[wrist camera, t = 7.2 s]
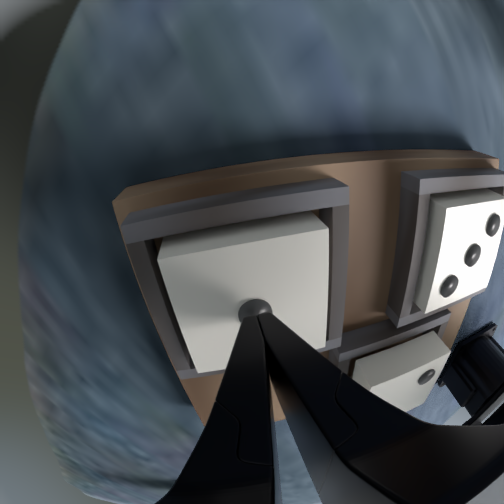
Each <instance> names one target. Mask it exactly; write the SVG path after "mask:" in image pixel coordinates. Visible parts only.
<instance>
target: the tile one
mask: <svg viewBox="0 0 504 504" xmlns="http://www.w3.org/2000/svg"><path fill="white" fill-rule="evenodd" d="M157 261H158V264H159V267H160V271H161V274H162V277H163V280H164V283H165V286H166V289H167V292H168V295H169V298H170V301H171V304H172V307H173V310H174V312H175V315H176V318H177V321H178V324H179V326H180V329H181V332H182V334H183V337H184V340H185V342H186V345H187V348H188V350H189V353H190V355H191V358H192V360H193V363H194V365H195V368H196V370H197V372H198V373H204V372H210V371H217V370H223V369H226V366H227V363H228V360H229V357H230V354H231V351H232V348H233V346H234V343H235V340H236V337H237V334H238V331H239V328H240V325H241V322H242V319H243V317H246V316H251V315H256V316H257V315H258V314H261V313H266V312H271V313H272V314H273V315H275V316H276V317H277V318H278V319H279V320H281V321H282V322H283V323H284V324H285V325H287V326H288V327H289V328H290V329H291V330H293V331H294V332H295V333H296V334H297V335H299V336H300V337H301V338H302V339H303V340H305V341H306V342H307V343H308V344H310V345H311V346H312V347H313V348H314V349H319V348H323V347H325V344H326V328H327V308H328V277H329V228H328V227H327V226H326V225H325V224H324V223H323V222H322V221H321V220H320V219H319V218H318V217H317V216H316V215H315V214H313V213H312V212H311V211H310V210H309V211H303V212H297V213H290V214H284V215H278V216H272V217H266V218H260V219H255V220H249V221H243V222H238V223H232V224H227V225H221V226H216V227H210V228H205V229H200V230H194V231H189V232H184V233H179V234H174V235H169V236H164V237H163V240H162V244H161V247H160V251H159V255H158V259H157Z"/></svg>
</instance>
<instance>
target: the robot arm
mask: <svg viewBox="0 0 504 504" xmlns="http://www.w3.org/2000/svg"><path fill="white" fill-rule="evenodd" d="M496 328H497V325H496V324H495V323H493V324H492V325H490V326H489V327H487V328H485V329H484V330H482V331H480V332H479V333H477V334H475V335H473V336H472V337H470V338H468V339H466V340H465V341H463V342H461V343H459V344H458V346H457V347H456V349H455V351H454V353H453V355H452V357H451V359H450V361H449V363H448V365H447V367H446V369H445V371H444V373H443V375H442V377H441V379H440V381H439V382H438V386H439V387H442V386H444V385H446V386H447V387H448V389H449V390H450V392H451V393H452V394H453V396H454V397H455V399H456V400H457V402H458V403H459V405H460V406H461V407H464V406H465V408H466V409H467V411H468V412H469V414H470V415H471V418H470V419H469V420H468V421H466V422H465V423H464V424H462V426H450V425H436V424H431V423H427V422H424V421H422V420H419V419H417V418H415V417H413V416H412V415H410V414H408V413H406V412H404V411H403V410H401V409H399V408H397V407H395V406H394V405H392V404H390V403H388V402H387V401H385V400H383V399H381V398H380V397H378V396H377V395H375V394H373V393H372V392H370V391H369V390H367V389H365V388H364V387H363V386H361V385H360V384H359V383H357V382H356V381H355V380H353V379H352V378H351V377H349V376H348V375H347V374H346V373H344V372H342V370H340V369H339V368H338V367H337V366H335V365H334V364H333V363H332V362H330V361H329V360H328V359H327V358H326V357H324V356H323V355H322V354H321V353H319V352H318V351H317V350H316V349H314V348H313V347H312V346H311V345H310V344H308V343H307V342H306V341H305V340H303V339H302V338H301V337H300V336H299V335H297V334H296V333H295V332H294V331H293V330H291V329H290V328H289V327H288V326H287V325H285V324H284V323H283V322H282V321H281V320H279V319H278V318H277V317H276V316H275V315H273V314H272V313H271V312H266V313H261V314H258V315H257V316H256V315H251V316H246V317H243V319H242V322H241V325H240V328H239V331H238V334H237V337H236V340H235V343H234V346H233V348H232V351H231V354H230V357H229V360H228V363H227V366H226V369H225V372H224V375H223V378H222V381H221V384H220V387H219V390H218V393H217V396H216V399H215V402H214V404H213V407H212V410H211V413H210V415H209V418H208V420H207V423H206V425H205V428H204V430H203V432H202V434H201V436H200V438H199V440H198V442H197V444H196V446H195V448H194V450H193V452H192V453H191V455H190V457H189V459H188V461H187V463H186V464H185V466H184V468H183V470H182V472H181V474H180V475H179V477H178V479H177V480H176V482H175V484H174V485H173V487H172V488H171V489H170V490H169V492H168V493H167V494H166V495H165V496H164V497H163V498H161V499H160V500H159V501H158V502H156V503H155V504H282V495H281V485H280V474H279V463H278V453H277V442H276V432H275V422H274V411H273V401H272V391H271V383H272V385H273V388H274V391H275V393H276V396H277V398H278V401H279V403H280V405H281V408H282V410H283V413H284V415H285V418H286V420H287V423H288V425H289V427H290V430H291V432H292V435H293V437H294V439H295V442H296V444H297V446H298V449H299V451H300V453H301V456H302V458H303V460H304V463H305V465H306V467H307V470H308V472H309V474H310V477H311V479H312V481H313V483H314V486H315V488H316V490H317V492H318V494H319V497H320V499H321V502H322V504H504V403H503V404H502V405H501V406H500V407H499V408H498V409H497V410H496V411H495V412H494V413H493V414H492V415H491V416H490V417H489V418H488V419H487V420H486V421H485V422H484V423H483V424H482V423H481V422H482V421H483V420H484V419H485V418H486V417H487V416H488V415H489V414H490V413H491V412H492V411H493V410H494V409H495V408H496V407H497V406H498V405H499V404H500V403H501V402H502V401H503V400H504V349H503V348H502V347H501V346H500V345H499V344H498V343H497V342H496V341H495V340H494V338H493V337H492V336H493V334H494V332H495V330H496ZM270 380H271V383H270Z"/></svg>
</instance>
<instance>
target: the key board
mask: <svg viewBox="0 0 504 504" xmlns="http://www.w3.org/2000/svg"><path fill="white" fill-rule="evenodd" d="M498 167H499V159H498V158H495V157H492V156H489V155H486V154H483V153H480V152H477V151H472V150H442V149H407V150H375V151H356V152H341V153H329V154H318V155H307V156H298V157H289V158H281V159H273V160H265V161H258V162H251V163H244V164H238V165H232V166H226V167H220V168H214V169H208V170H203V171H198V172H192V173H187V174H182V175H177V176H173V177H168V178H163V179H159V180H154V181H150V182H146V183H141V184H137V185H133V186H129V187H126V188H125V189H124V190H123V191H122V192H121V193H120V194H119V195H118V196H117V197H116V198H115V199H114V200H113V201H112V204H113V208H114V212H115V215H116V218H117V222H118V225H119V228H120V232H121V235H122V238H123V241H124V244H125V248H126V251H127V254H128V257H129V259H130V262H131V265H132V268H133V271H134V274H135V277H136V279H137V282H138V285H139V287H140V290H141V293H142V295H143V298H144V300H145V303H146V305H147V308H148V310H149V313H150V315H151V318H152V320H153V323H154V325H155V327H156V330H157V332H158V334H159V337H160V339H161V341H162V343H163V346H164V348H165V350H166V352H167V354H168V357H169V359H170V361H171V363H172V365H173V367H174V369H175V371H176V373H177V375H178V377H179V379H180V381H181V383H182V385H183V387H184V389H185V391H186V393H187V395H188V397H189V399H190V401H191V403H192V405H193V406H194V408H195V410H196V412H197V414H198V416H199V417H200V419H201V421H202V423H203V424H204V426H205V425H206V423H207V420H208V418H209V415H210V413H211V410H212V407H213V404H214V402H215V399H216V396H217V393H218V390H219V387H220V384H221V381H222V378H223V375H224V372H225V369H223V370H217V371H210V372H204V373H198V372H197V370H196V368H195V365H194V363H193V360H192V358H191V355H190V353H189V350H188V348H187V345H186V342H185V340H184V337H183V334H182V332H181V329H180V326H179V324H178V321H177V318H176V315H175V312H174V310H173V307H172V304H171V301H170V298H169V295H168V292H167V289H166V286H165V283H164V280H163V277H162V274H161V271H160V267H159V264H158V261H157V259H158V255H159V251H160V247H161V244H162V240H163V237H164V236H169V235H174V234H179V233H184V232H189V231H194V230H200V229H205V228H210V227H216V226H221V225H227V224H232V223H238V222H243V221H249V220H255V219H260V218H266V217H272V216H278V215H284V214H290V213H297V212H303V211H309V210H310V211H311V212H312V213H313V214H315V215H316V216H317V217H318V218H319V219H320V220H321V221H322V222H323V223H324V224H325V225H326V226H327V227H328V228H329V277H328V308H327V328H326V344H325V347H323V348H319V349H316V350H317V351H318V352H319V353H321V354H322V355H323V356H324V357H326V358H327V359H328V360H329V361H330V362H332V363H333V364H334V365H335V366H337V367H338V368H339V369H340V370H342V372H344V373H346V374H347V375H348V376H349V377H351V378H352V377H353V372H354V367H355V362H356V360H358V359H361V358H364V357H367V356H370V355H373V354H375V353H378V352H381V351H384V350H387V349H389V348H392V347H395V346H397V345H400V344H402V343H405V342H407V341H410V340H412V339H415V338H417V337H420V336H422V335H424V334H427V333H429V332H431V331H434V332H435V333H436V334H437V335H438V337H439V338H440V339H441V340H442V341H443V342H444V344H445V345H446V346H447V347H448V348H449V350H450V349H451V347H452V345H453V343H454V341H455V338H456V336H457V333H458V331H459V329H460V326H461V324H462V321H463V319H464V316H465V313H466V311H467V308H468V305H469V302H470V299H471V297H473V296H476V295H478V294H480V293H482V292H484V291H485V289H486V287H485V288H483V289H481V290H479V291H477V292H475V293H473V294H470V295H468V296H466V297H464V298H462V299H459V300H457V301H455V302H452V303H450V304H448V305H445V306H443V307H441V308H438V309H436V310H433V311H431V312H428V313H426V314H424V313H423V312H422V310H421V309H420V308H419V307H418V306H417V305H416V304H415V303H414V302H413V299H414V295H415V291H416V286H417V281H418V277H419V272H420V266H421V261H422V255H423V250H424V243H425V237H426V230H427V222H428V213H429V204H430V194H432V193H441V192H450V191H459V190H469V189H478V188H487V189H489V190H492V191H494V192H496V193H498V194H500V195H502V196H504V171H501V170H498ZM270 383H271V380H270ZM271 391H272V401H273V411H274V421H279V420H283V419H286V418H285V415H284V413H283V410H282V408H281V405H280V403H279V401H278V398H277V396H276V393H275V391H274V388H273V385H272V383H271Z"/></svg>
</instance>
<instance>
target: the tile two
mask: <svg viewBox="0 0 504 504" xmlns="http://www.w3.org/2000/svg"><path fill="white" fill-rule="evenodd" d="M450 353H451V351H450V350H449V348H448V347H447V346H446V345H445V344H444V342H443V341H442V340H441V339H440V338H439V337H438V335H437V334H436V333H435V332H434V331H431V332H429V333H427V334H424V335H422V336H420V337H417V338H415V339H412V340H410V341H407V342H405V343H402V344H400V345H397V346H395V347H392V348H389V349H387V350H384V351H381V352H378V353H375V354H373V355H370V356H367V357H364V358H361V359H358V360H356V362H355V367H354V372H353V377H352V379H353V380H355V381H356V382H357V383H359V384H360V385H361V386H363V387H364V388H365V389H367V390H369V391H370V392H372V393H373V394H375V395H377V396H378V397H380V398H381V399H383V400H385V401H387V402H388V403H390V404H392V405H394V406H395V407H397V408H399V409H401V410H403V411H404V412H407V411H409V410H411V409H413V408H415V407H417V406H419V405H421V404H423V403H424V402H425V400H426V399H427V397H428V395H429V393H430V392H431V390H432V388H433V386H434V384H435V383H436V381H437V379H438V377H439V375H440V373H441V371H442V369H443V367H444V365H445V363H446V361H447V359H448V357H449V355H450Z"/></svg>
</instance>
